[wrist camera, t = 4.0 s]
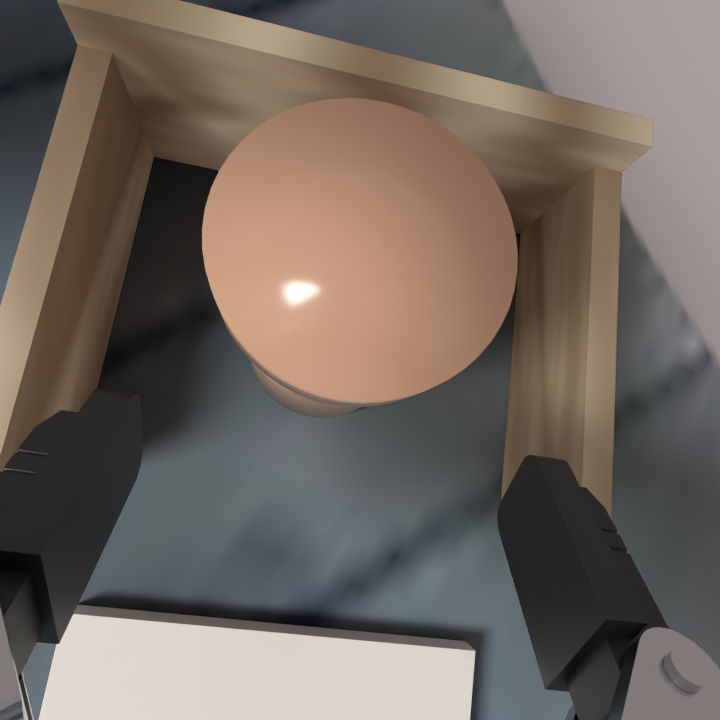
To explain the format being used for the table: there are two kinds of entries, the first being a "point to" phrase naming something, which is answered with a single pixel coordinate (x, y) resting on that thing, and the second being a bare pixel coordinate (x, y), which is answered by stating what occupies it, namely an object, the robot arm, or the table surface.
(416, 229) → the tan round-topped cylinder
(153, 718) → the stone tile
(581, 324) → the wooden frame
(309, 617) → the table surface
